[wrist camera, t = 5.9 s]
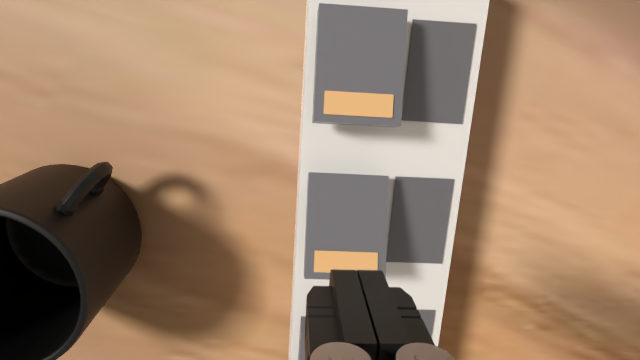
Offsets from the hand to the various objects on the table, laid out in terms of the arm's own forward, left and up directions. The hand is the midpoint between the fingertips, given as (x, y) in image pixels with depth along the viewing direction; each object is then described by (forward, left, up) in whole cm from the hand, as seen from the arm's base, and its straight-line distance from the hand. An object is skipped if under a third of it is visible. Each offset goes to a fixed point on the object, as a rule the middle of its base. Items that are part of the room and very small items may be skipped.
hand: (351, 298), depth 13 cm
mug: (+5, -16, -19) cm, 25 cm away
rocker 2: (+3, +2, -13) cm, 14 cm away
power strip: (+3, +4, -19) cm, 19 cm away
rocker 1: (-6, +2, -13) cm, 15 cm away
